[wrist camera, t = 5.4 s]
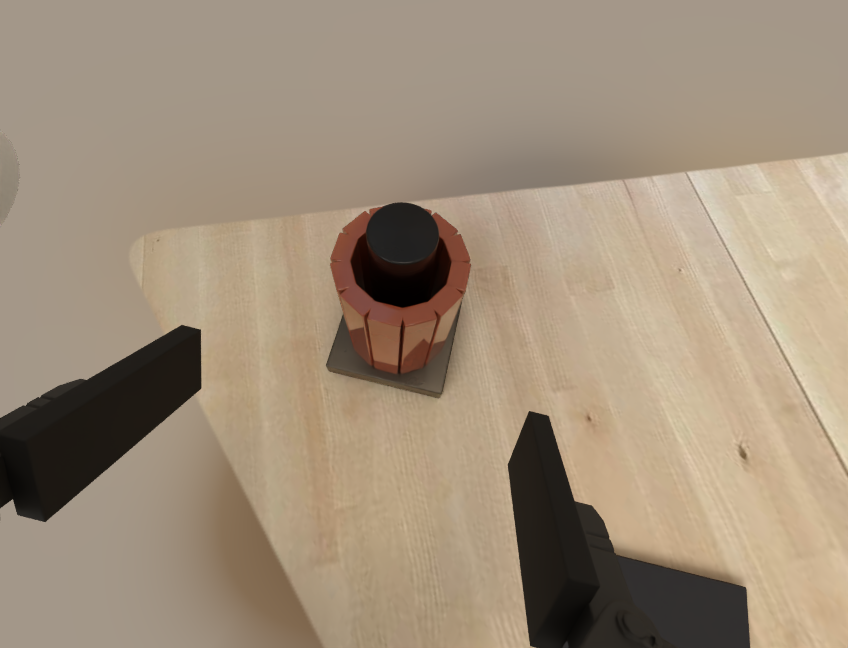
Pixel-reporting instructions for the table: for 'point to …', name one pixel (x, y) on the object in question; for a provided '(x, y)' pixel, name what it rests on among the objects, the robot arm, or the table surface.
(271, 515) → the table surface
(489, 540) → the table surface
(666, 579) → the mat
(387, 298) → the post stand
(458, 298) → the sleeve ring
